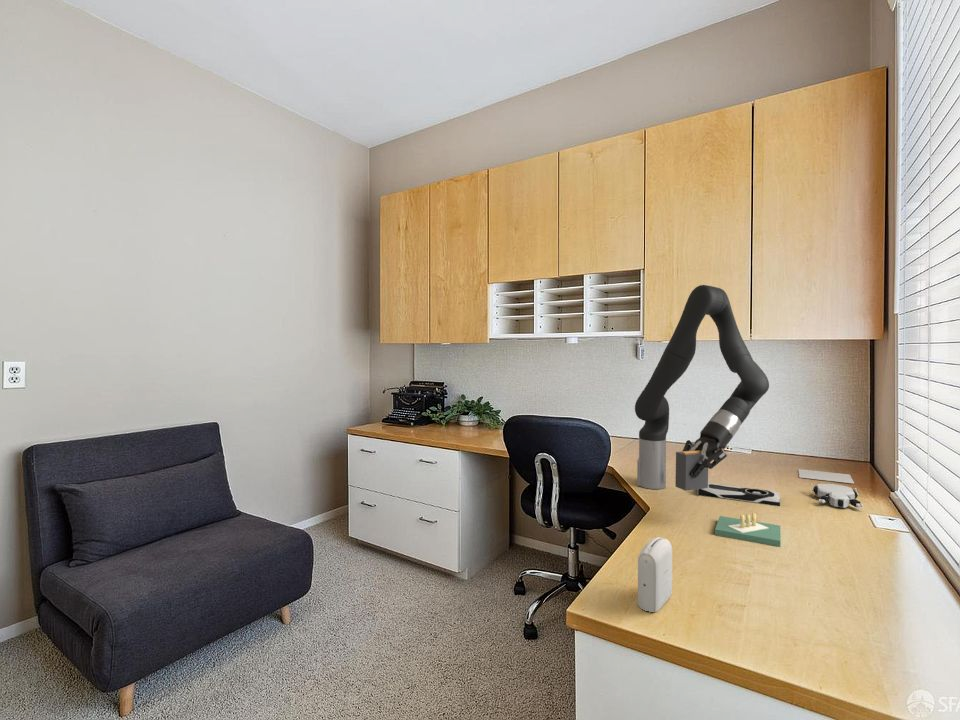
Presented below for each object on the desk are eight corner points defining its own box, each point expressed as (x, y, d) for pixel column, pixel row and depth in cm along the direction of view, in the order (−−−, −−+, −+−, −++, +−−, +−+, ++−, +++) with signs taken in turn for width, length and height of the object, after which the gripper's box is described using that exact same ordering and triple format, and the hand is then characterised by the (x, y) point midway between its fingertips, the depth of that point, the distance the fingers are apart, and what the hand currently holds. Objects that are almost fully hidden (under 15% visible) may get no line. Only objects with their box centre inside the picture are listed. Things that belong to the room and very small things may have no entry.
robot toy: (865, 516, 146) (855, 498, 160) (866, 501, 146) (855, 485, 159) (816, 510, 152) (810, 493, 165) (817, 496, 152) (810, 480, 165)
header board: (715, 534, 131) (715, 516, 131) (719, 520, 141) (719, 503, 141) (780, 546, 123) (780, 527, 123) (780, 530, 133) (780, 512, 133)
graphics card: (697, 480, 173) (780, 490, 161) (697, 489, 173) (779, 500, 161) (694, 487, 164) (781, 498, 152) (694, 497, 164) (781, 509, 152)
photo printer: (656, 616, 92) (656, 552, 92) (634, 608, 95) (634, 546, 95) (674, 594, 100) (675, 535, 100) (654, 587, 103) (654, 530, 103)
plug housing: (685, 490, 135) (686, 454, 135) (675, 486, 139) (676, 450, 139) (707, 487, 138) (708, 451, 137) (697, 483, 141) (698, 448, 141)
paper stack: (858, 492, 167) (858, 490, 167) (773, 482, 181) (773, 480, 181) (849, 476, 187) (849, 474, 187) (774, 468, 200) (774, 466, 200)
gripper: (695, 416, 147) (661, 459, 143) (733, 424, 133) (697, 472, 130) (709, 432, 149) (676, 475, 145) (748, 442, 135) (712, 489, 132)
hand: (686, 473), depth 138 cm, fingers closed on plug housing, 4 cm apart
